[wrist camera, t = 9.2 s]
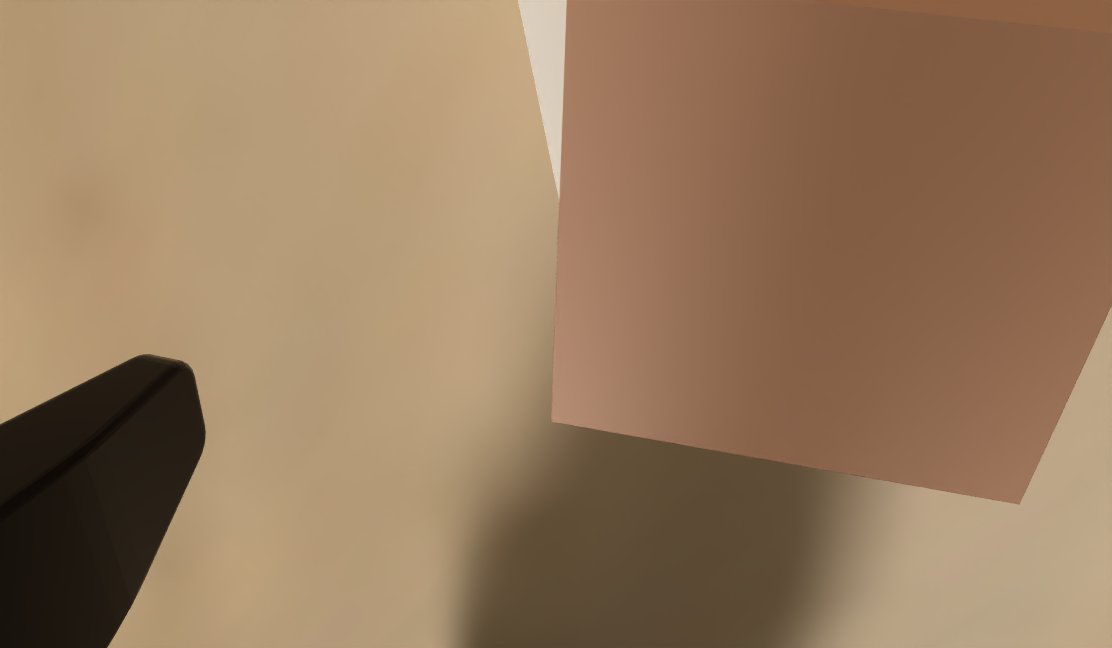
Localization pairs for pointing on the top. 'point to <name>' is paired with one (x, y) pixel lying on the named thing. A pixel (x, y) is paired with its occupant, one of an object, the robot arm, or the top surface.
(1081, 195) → the terracotta cube
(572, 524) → the top surface
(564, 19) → the base block
